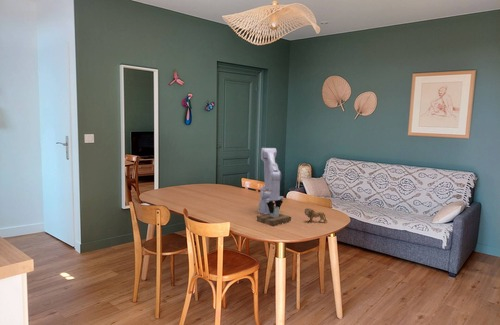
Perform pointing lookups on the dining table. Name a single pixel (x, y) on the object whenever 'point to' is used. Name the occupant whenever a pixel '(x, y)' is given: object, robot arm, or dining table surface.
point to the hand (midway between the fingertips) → (274, 212)
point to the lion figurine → (314, 214)
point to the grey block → (275, 212)
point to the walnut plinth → (273, 219)
